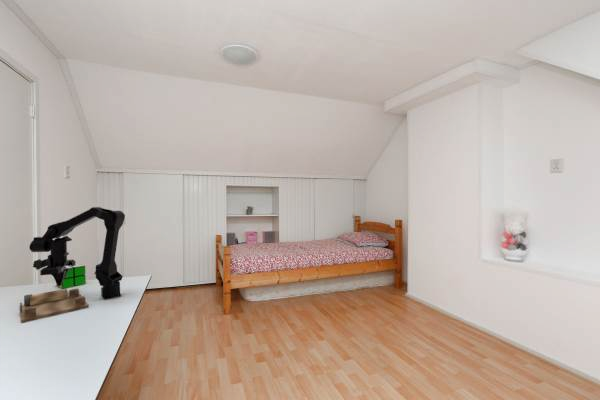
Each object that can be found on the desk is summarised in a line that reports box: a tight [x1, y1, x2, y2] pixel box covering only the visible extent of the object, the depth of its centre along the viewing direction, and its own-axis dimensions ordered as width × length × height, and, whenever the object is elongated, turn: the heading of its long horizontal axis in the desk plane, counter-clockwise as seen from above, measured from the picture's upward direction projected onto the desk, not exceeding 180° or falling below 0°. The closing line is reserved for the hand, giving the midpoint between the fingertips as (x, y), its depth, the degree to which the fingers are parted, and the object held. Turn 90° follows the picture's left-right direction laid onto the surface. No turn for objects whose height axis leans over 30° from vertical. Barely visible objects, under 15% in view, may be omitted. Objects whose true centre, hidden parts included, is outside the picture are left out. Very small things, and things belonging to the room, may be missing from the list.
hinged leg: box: [23, 288, 69, 306], centre depth 122 cm, size 14×3×4 cm, turn 136°
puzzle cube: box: [55, 263, 87, 290], centre depth 151 cm, size 10×10×10 cm
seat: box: [19, 288, 90, 324], centre depth 118 cm, size 20×20×4 cm
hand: (59, 285), depth 130 cm, fingers closed
